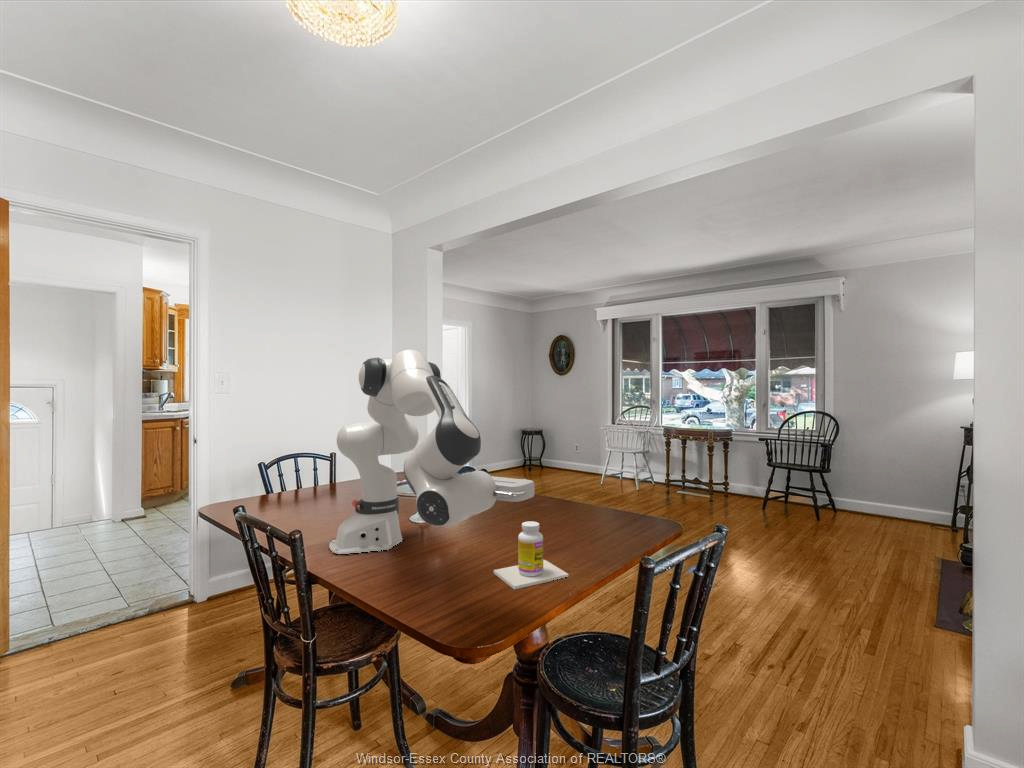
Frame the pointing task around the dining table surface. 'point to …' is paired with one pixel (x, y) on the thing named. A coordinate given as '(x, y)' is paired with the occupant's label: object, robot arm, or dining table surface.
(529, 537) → the supplement bottle
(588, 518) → the dining table surface
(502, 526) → the dining table surface
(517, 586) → the off-white mat
